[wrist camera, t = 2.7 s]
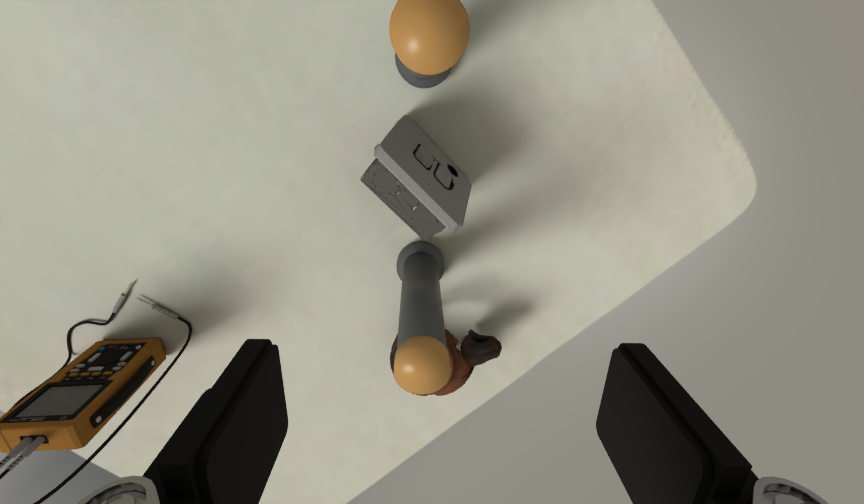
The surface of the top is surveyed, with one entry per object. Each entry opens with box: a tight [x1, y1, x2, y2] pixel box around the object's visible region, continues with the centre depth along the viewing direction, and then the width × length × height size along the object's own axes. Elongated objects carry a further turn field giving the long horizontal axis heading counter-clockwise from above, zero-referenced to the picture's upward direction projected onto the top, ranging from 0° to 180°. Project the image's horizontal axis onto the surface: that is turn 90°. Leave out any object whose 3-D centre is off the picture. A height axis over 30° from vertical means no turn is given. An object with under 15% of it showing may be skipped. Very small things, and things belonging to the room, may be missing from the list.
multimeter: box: [0, 281, 192, 504], centre depth 36 cm, size 15×10×20 cm
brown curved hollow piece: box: [390, 329, 502, 396], centre depth 45 cm, size 12×10×8 cm
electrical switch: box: [361, 115, 471, 241], centre depth 36 cm, size 9×5×9 cm, turn 44°
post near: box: [390, 0, 469, 88], centre depth 27 cm, size 5×5×18 cm
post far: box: [394, 241, 451, 395], centre depth 35 cm, size 5×5×18 cm
